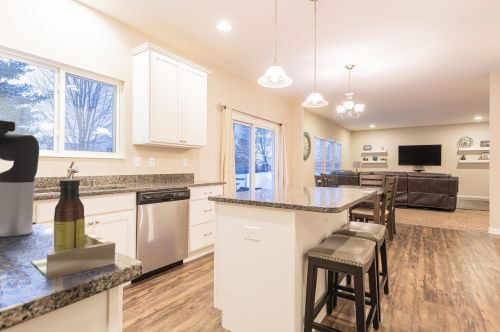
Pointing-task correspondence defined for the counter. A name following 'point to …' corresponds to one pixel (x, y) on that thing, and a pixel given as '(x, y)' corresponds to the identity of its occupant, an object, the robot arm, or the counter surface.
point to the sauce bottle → (69, 217)
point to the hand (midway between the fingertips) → (11, 128)
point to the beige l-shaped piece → (78, 258)
